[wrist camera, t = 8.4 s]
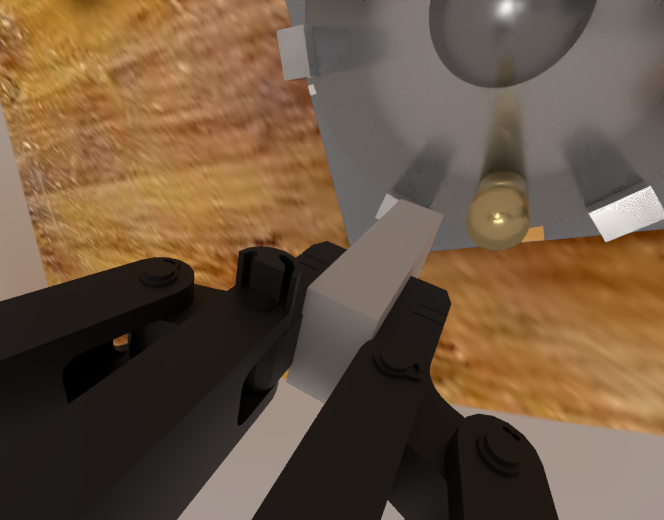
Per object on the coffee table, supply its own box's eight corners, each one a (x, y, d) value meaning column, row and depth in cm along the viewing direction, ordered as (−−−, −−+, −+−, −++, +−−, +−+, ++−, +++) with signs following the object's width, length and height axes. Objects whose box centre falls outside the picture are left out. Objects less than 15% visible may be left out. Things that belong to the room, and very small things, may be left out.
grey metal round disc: (285, -159, 20) (169, -275, 13) (971, -497, 11) (1729, -1464, 4) (334, 216, 28) (276, 260, 21) (757, 216, 18) (892, 295, 12)
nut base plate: (917, -588, 11) (973, -684, 10) (810, 203, 19) (833, 213, 17) (265, -124, 23) (248, -137, 21) (360, 251, 30) (352, 260, 29)
